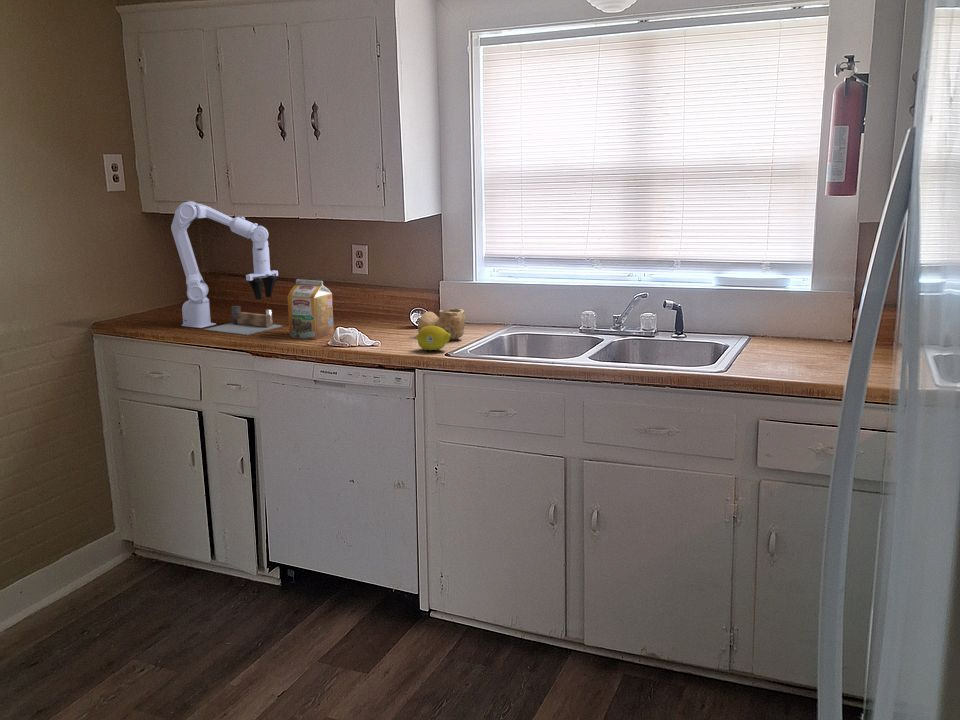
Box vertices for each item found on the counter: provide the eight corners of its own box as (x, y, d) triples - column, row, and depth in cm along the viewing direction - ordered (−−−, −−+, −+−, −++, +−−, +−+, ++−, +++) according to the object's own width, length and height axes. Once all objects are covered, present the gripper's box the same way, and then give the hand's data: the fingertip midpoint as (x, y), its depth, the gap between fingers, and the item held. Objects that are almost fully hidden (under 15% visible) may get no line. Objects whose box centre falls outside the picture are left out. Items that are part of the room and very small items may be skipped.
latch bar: (230, 323, 316) (229, 306, 315) (236, 321, 319) (235, 305, 317) (265, 327, 308) (264, 310, 307) (271, 325, 311) (270, 309, 310)
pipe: (432, 333, 300) (431, 304, 297) (471, 338, 291) (470, 309, 289) (416, 338, 292) (415, 308, 290) (455, 343, 284) (454, 313, 281)
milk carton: (333, 334, 299) (331, 279, 295) (316, 339, 290) (313, 283, 286) (308, 331, 304) (305, 277, 299) (289, 337, 294) (286, 281, 290)
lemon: (411, 352, 272) (411, 326, 270) (423, 347, 279) (422, 322, 277) (443, 355, 267) (442, 329, 265) (454, 349, 274) (453, 324, 272)
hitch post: (265, 326, 313) (264, 310, 311) (269, 325, 314) (268, 309, 313) (270, 327, 312) (269, 310, 310) (273, 326, 313) (272, 309, 312)
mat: (204, 329, 307) (204, 329, 307) (240, 321, 322) (240, 320, 322) (246, 335, 298) (246, 334, 298) (282, 326, 313) (282, 325, 313)
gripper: (255, 263, 305) (258, 301, 308) (283, 259, 317) (285, 296, 320) (240, 262, 308) (243, 300, 311) (268, 258, 320) (271, 294, 324)
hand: (263, 298), depth 316 cm, fingers open, 5 cm apart
